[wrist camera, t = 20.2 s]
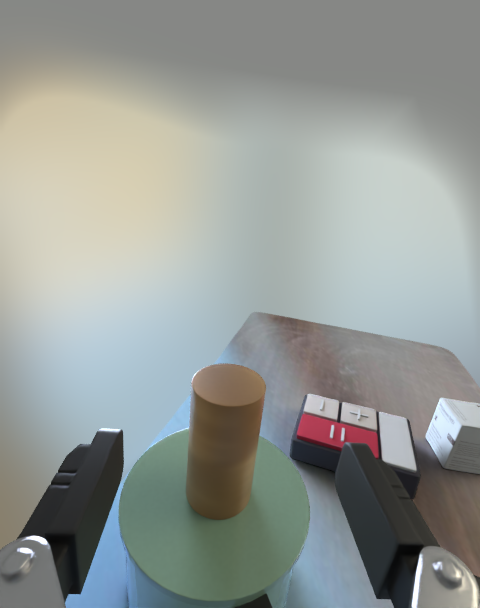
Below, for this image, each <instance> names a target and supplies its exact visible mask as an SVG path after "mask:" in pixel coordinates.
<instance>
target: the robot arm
mask: <svg viewBox="0 0 480 608" xmlns="http://www.w3.org/2000/svg"><path fill="white" fill-rule="evenodd" d="M123 459H124V457H123V431H122V430H118V429H99V430H98V431H97V433H96V435H95V437H94V439H93V441H92V443H91V444H80V445H79V446H77V447H76V448H75V449H74V450H73V451H72V452H71V453H69V454H68V455H67V456H66V458H65V460H64V461H63V463H62V465H61V466H60V468H59V470H58V473H56V475H55V476H54V478H53V480H52V482H51V485H49V487H48V488H47V490H46V492H45V493H44V495H43V497H42V499H41V500H40V502H39V504H38V505H37V507H36V509H35V510H34V512H33V514H32V515H31V517H30V519H29V521H28V522H27V524H26V525H25V527H24V529H23V531H22V532H21V534H20V535H19V537H18V538H17V539H16V540H15V541H13V542H11V543H9V544H7V545H6V546H5V547H3V548H2V549H1V550H0V608H66V606H65V601H66V598H67V596H68V594H81V591H82V588H83V586H84V583H85V580H86V577H87V574H88V572H89V569H90V566H91V563H92V560H93V557H94V555H95V552H96V549H97V546H98V543H99V541H100V538H101V535H102V532H103V529H104V527H105V524H106V521H107V518H108V515H109V512H110V510H111V507H112V504H113V501H114V498H115V496H116V493H117V490H118V487H119V484H120V481H121V477H122V472H123V464H124V460H123ZM335 485H336V490H337V493H338V496H339V499H340V502H341V504H342V507H343V510H344V512H345V515H346V518H347V520H348V523H349V526H350V528H351V531H352V534H353V536H354V539H355V542H356V544H357V547H358V550H359V552H360V555H361V558H362V560H363V563H364V566H365V568H366V571H367V574H368V577H369V579H370V582H371V585H372V587H373V590H374V593H375V595H376V598H377V599H391V601H392V603H393V606H394V608H480V577H477V576H475V575H473V574H472V572H471V571H470V570H469V569H468V567H467V566H466V565H465V564H464V563H463V562H462V561H461V560H460V559H459V558H458V557H456V556H455V555H454V554H452V553H450V552H449V551H447V550H445V549H443V548H441V547H440V545H439V544H438V542H437V541H436V539H435V537H434V536H433V534H432V532H431V531H430V529H429V527H428V526H427V524H426V522H425V521H424V519H423V517H422V516H421V514H420V512H419V511H418V509H417V508H416V506H415V504H414V503H413V501H412V500H410V496H409V494H408V493H407V491H406V489H405V488H403V484H402V483H401V481H400V479H399V478H398V476H397V474H396V473H395V471H394V470H393V469H392V468H391V467H389V466H388V465H387V464H386V463H385V462H384V461H383V460H382V459H376V457H375V456H374V454H373V452H372V450H371V449H370V447H369V445H368V444H366V443H353V442H345V443H344V445H343V448H342V451H341V455H340V459H339V462H338V466H337V470H336V474H335Z"/></svg>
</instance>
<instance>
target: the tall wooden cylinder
mask: <svg viewBox="0 0 480 608" xmlns="http://www.w3.org/2000/svg"><path fill="white" fill-rule="evenodd" d="M265 391H266V385H265V382H264V380H263V379H262V377H261V376H260V375H259V374H258V373H256V372H255V371H253V370H251V369H249V368H247V367H244V366H240V365H235V364H214V365H210V366H207V367H205V368H203V369H201V370H199V371H198V372H197V373H196V374H195V375H194V376H193V379H192V383H191V402H190V421H189V440H188V459H187V478H186V496H187V499H188V502H189V504H190V505H191V507H192V508H193V509H194V510H195V511H196V512H197V513H198V514H200V515H202V516H204V517H206V518H209V519H214V520H224V519H229V518H232V517H234V516H236V515H238V514H239V513H240V512H241V511H242V510H243V509H244V508H245V507H246V506H247V504H248V502H249V499H250V495H251V488H252V481H253V474H254V468H255V461H256V454H257V447H258V440H259V433H260V426H261V419H262V412H263V405H264V398H265Z"/></svg>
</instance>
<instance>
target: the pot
mask: <svg viewBox="0 0 480 608" xmlns="http://www.w3.org/2000/svg"><path fill="white" fill-rule="evenodd" d="M188 440H189V428H188V429H184V430H181V431H179V432H176V433H173V434H171V435H169V436H167V437H165V438H164V439H162V440H160V441H159V442H157V443H156V444H154V445H153V446H152V447H150V448H149V449H148V450H147V451H146V452H145V453H144V454H143V455H142V456H141V457H140V458H139V460H138V461H137V462H136V463H135V465H134V466H133V468H132V469H131V471H130V472H129V474H128V476H127V479H126V481H125V483H124V486H123V489H122V492H121V496H120V502H119V528H120V535H121V539H122V542H123V545H124V549H125V551H126V569H127V597H128V606H129V608H285V603H286V599H287V595H288V590H289V586H290V582H291V577H292V573H293V569H294V565H295V563H296V562H297V560H298V558H299V556H300V554H301V552H302V550H303V548H304V544H305V541H306V537H307V534H308V528H309V521H310V506H309V500H308V495H307V491H306V488H305V485H304V482H303V480H302V478H301V476H300V474H299V472H298V471H297V469H296V467H295V466H294V465H293V463H292V462H291V461H290V459H289V458H288V457H287V456H286V455H285V454H284V453H283V452H282V451H281V450H280V449H279V448H277V447H276V446H275V445H274V444H272V443H271V442H269V441H268V440H266V439H264V438H263V437H261V436H259V440H258V447H257V454H256V461H255V468H254V474H253V481H252V488H251V495H250V499H249V502H248V504H247V506H246V507H245V508H244V509H243V510H242V511H241V512H240V513H239V514H238V515H236V516H234V517H232V518H229V519H224V520H214V519H209V518H206V517H204V516H202V515H200V514H198V513H197V512H196V511H195V510H194V509H193V508H192V507H191V505H190V504H189V502H188V499H187V496H186V478H187V459H188Z"/></svg>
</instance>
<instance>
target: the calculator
mask: <svg viewBox="0 0 480 608" xmlns="http://www.w3.org/2000/svg"><path fill="white" fill-rule="evenodd" d="M345 442H353V443H366V444H368V445H369V447H370V449H371V450H372V452H373V454H374V456H375V457H376V459H382V460H383V461H384V462H385V463H386V464H387V465H388V466H389V467H391V468H392V469H393V470H394V471H395V473H396V474H397V476H398V478H399V479H400V481H401V483H402V484H403V488H405V489H406V491H407V493H408V494H409V496H410V499H414V497H415V494H416V491H417V487H418V484H419V481H420V477H421V474H420V469H419V465H418V460H417V455H416V450H415V446H414V441H413V436H412V431H411V427H410V422H409V420H408V419H406V418H403V417H399V416H395V415H391V414H386V413H382V412H376V410H374V409H370V408H366V407H362V406H358V405H354V404H350V403H345V402H343V403H339V401H337V400H333V399H329V398H325V397H321V396H316V395H312V394H308V395H305V397H304V400H303V403H302V407H301V410H300V413H299V417H298V420H297V423H296V426H295V430H294V433H293V436H292V442H291V450H290V457H291V458H293V459H297V460H300V461H303V462H306V463H309V464H313V465H316V466H319V467H322V468H326V469H329V470H332V471H335V472H336V470H337V466H338V462H339V459H340V455H341V451H342V448H343V445H344V443H345Z"/></svg>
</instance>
